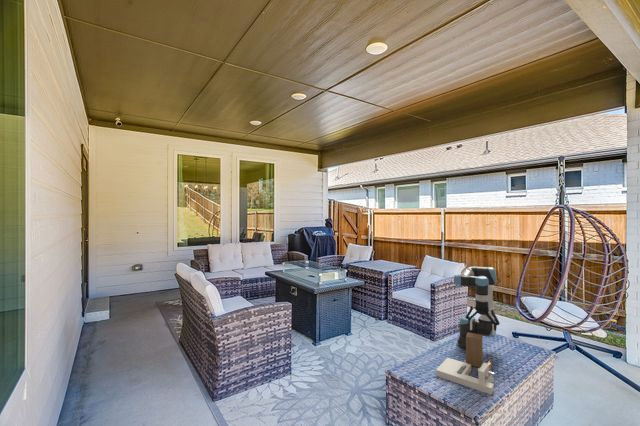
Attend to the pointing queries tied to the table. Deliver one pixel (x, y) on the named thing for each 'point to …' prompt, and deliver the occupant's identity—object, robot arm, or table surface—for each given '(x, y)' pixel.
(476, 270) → the robot arm
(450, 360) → the stand
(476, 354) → the wooden block
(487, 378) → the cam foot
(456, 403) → the table surface
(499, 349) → the table surface
